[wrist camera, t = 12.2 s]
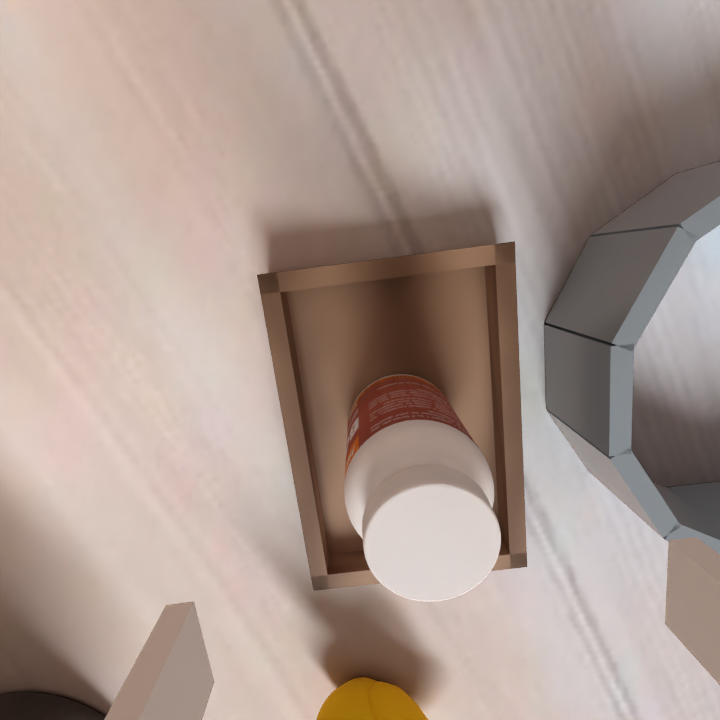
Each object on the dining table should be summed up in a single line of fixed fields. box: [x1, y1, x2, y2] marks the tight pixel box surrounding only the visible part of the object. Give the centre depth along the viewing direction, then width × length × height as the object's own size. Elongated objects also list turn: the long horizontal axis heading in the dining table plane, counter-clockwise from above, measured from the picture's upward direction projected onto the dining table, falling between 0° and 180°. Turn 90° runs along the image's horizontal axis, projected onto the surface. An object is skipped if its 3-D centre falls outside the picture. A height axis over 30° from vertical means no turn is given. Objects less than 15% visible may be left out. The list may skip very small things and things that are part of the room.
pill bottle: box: [344, 374, 501, 602], centre depth 19 cm, size 6×6×11 cm
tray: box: [257, 242, 527, 590], centre depth 24 cm, size 13×19×3 cm
